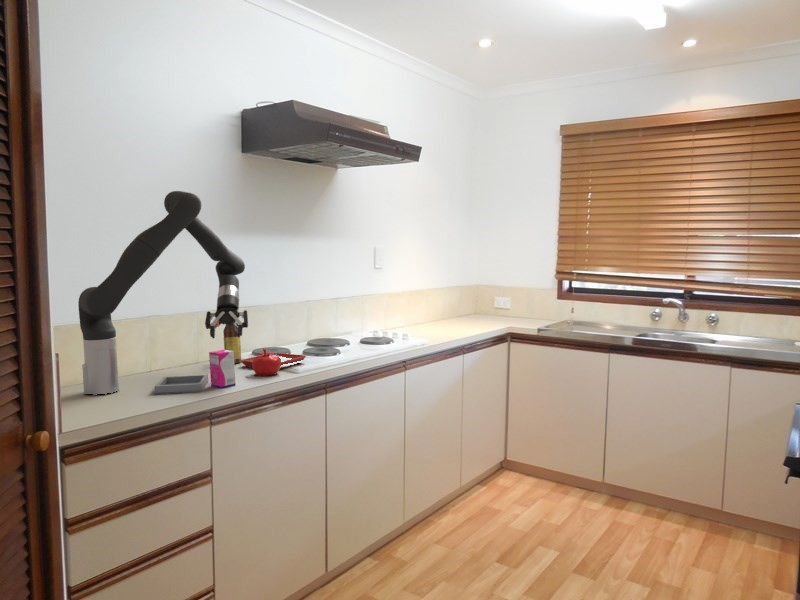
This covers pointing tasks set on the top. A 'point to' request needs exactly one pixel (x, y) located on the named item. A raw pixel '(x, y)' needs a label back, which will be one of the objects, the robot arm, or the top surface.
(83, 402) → the top surface
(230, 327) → the sauce bottle
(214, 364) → the supplement box
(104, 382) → the robot arm
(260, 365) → the pomegranate
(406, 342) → the top surface
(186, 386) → the tray
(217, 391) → the top surface
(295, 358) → the red square tray
